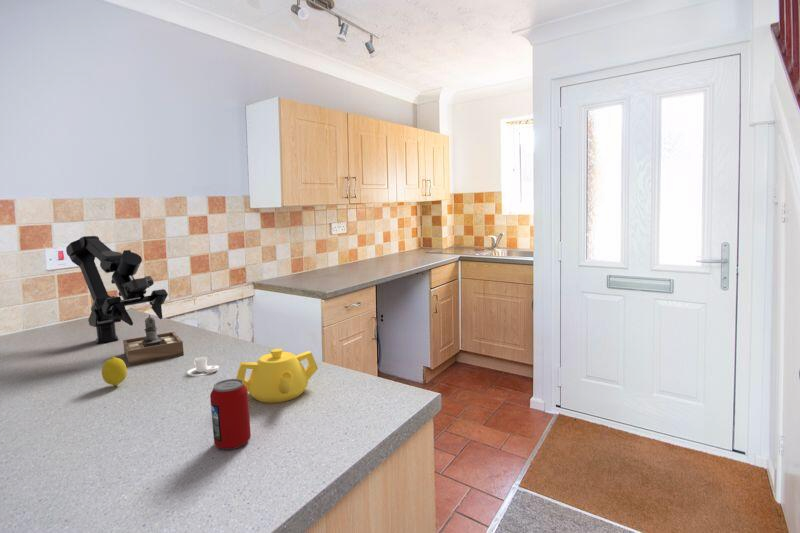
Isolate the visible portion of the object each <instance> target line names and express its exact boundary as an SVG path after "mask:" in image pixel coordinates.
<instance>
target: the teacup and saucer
mask: <svg viewBox="0 0 800 533" xmlns="http://www.w3.org/2000/svg"><path fill="white" fill-rule="evenodd" d="M193 365H194V366H195V367H192V368H191V369H189V370H188V371H187V372H186V374H187V375H188V376H193V377H200V376H201V377H202V376H206V375H210V374H213V373H214V372H217V371H218V370H219V369H220V366H219V365H208V357H207V356H200V357H196V358H194V359H193ZM195 370H196V371H197V372H198V373H201V374H195V373H192V372H194V371H195ZM204 372H205V373H204Z"/></svg>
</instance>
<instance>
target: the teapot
mask: <svg viewBox="0 0 800 533" xmlns="http://www.w3.org/2000/svg"><path fill="white" fill-rule="evenodd" d="M269 351H270V353H266V354H263V355H261V356H260V357H259V358H258V360H257V361H256V362H254V361H252V362H251V361H250V362H249V361H241V362H240V363H239V367H238V371H237V374H236V377H235V379H240V380H242V381H243V384H244V385H245V386H246V388H247V391H248V393H249V394H250V395H251V396H252V397H253V398H254V399H255V400H256V401H258V402H261V403H268V404H271V403H272V404H274V403H275V404H276V403H282V402H286V401H291V400H294V399H296V398H297V397H299V396H301V395H302V393H303V392H304V391H305V390H307V389H306V388H307V387H308V384H309V380H310V379H311V377H312V376H313V375H314V374H315V373H316V372H317V370H319V367H318V365H317V362H316V360H315V358H314V355H313V354H312V352H311V350H308V351H304V352H301V353H299V354H296V355H295V354H294V353H292V352H291V351H289V352H288V351H283V349H282V348H273V349H272V350H269ZM304 360H306V361H307V363H308V366H307V367H306V368H305V367H304V365H303V364H302V362H301V361H304ZM247 369H248V370H251V373H250V376H249V379H247V378H246V373H247Z"/></svg>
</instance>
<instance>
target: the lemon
mask: <svg viewBox="0 0 800 533" xmlns="http://www.w3.org/2000/svg"><path fill="white" fill-rule="evenodd" d="M127 373H128V369H127V365H126V362H125V361H124V360H123V359H121V358H118V357H116V356H111V357H110V358H109V359H106V360H105V361H104V363H103V365H102V369H101V377H102V379H103V381H104V383H106V384H108V385H110V386H114V387H118V386H119V384H120V383H123V381H124V380H126V378H127Z"/></svg>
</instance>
